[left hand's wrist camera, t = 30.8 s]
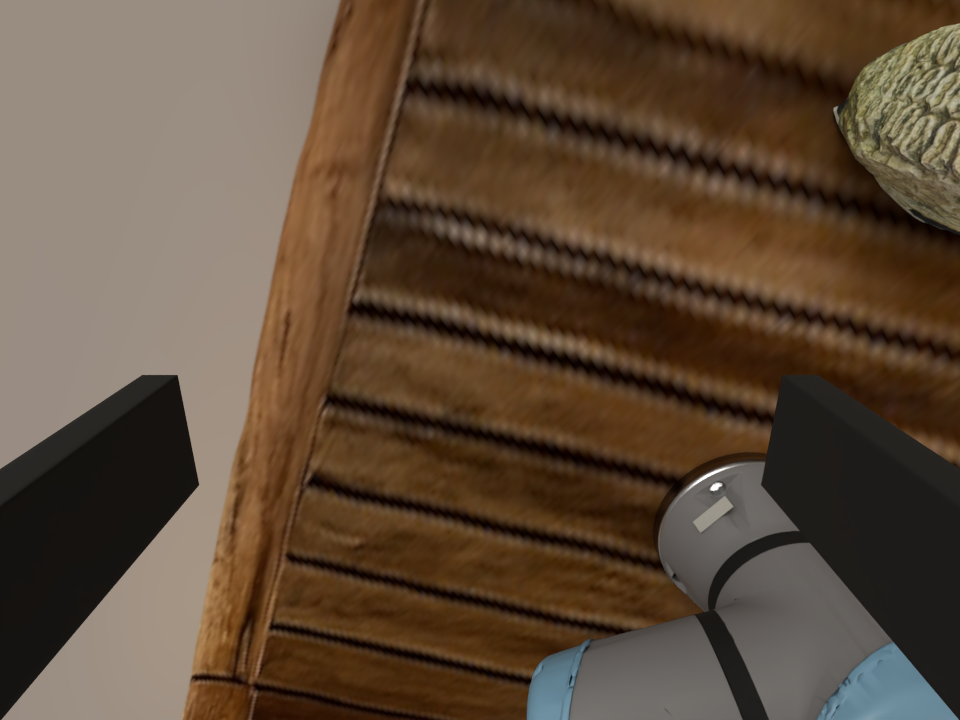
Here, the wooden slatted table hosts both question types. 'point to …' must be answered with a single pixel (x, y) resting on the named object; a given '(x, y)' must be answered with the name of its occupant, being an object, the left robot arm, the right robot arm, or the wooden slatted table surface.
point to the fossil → (911, 125)
